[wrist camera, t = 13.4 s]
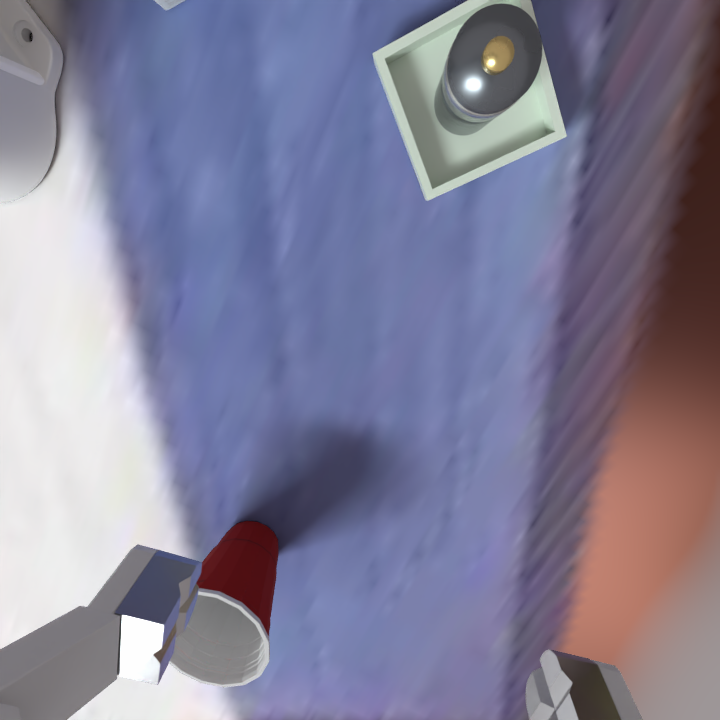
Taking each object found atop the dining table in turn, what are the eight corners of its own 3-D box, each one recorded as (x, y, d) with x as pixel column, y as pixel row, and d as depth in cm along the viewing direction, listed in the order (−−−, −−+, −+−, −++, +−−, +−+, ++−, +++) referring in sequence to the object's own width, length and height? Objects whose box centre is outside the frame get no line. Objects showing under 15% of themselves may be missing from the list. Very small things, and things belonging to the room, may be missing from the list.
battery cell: (423, 82, 30) (437, 26, 20) (486, 49, 29) (532, -27, 19) (446, 147, 32) (469, 124, 22) (506, 118, 31) (560, 80, 21)
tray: (374, 64, 31) (372, 53, 28) (512, -12, 29) (522, -31, 26) (425, 200, 34) (427, 200, 31) (554, 140, 32) (566, 136, 29)
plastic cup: (234, 482, 45) (180, 577, 34) (319, 535, 47) (294, 643, 35) (186, 543, 49) (123, 648, 37) (266, 591, 50) (229, 705, 39)
